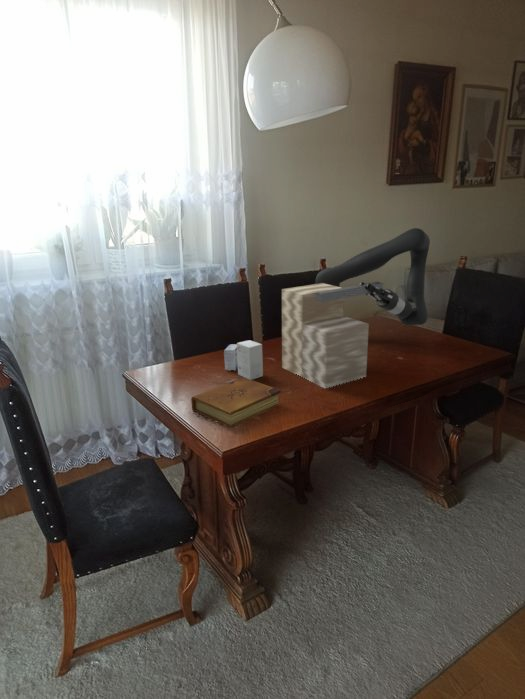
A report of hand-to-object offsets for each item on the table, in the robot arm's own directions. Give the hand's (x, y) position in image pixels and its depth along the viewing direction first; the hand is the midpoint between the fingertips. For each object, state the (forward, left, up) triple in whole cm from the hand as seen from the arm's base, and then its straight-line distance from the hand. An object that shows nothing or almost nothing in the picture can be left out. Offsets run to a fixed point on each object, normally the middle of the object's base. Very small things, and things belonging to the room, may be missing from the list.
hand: (363, 285), depth 187 cm
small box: (-21, -37, -34) cm, 55 cm away
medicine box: (-33, -38, -34) cm, 61 cm away
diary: (+1, -56, -35) cm, 66 cm away
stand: (-7, -12, -34) cm, 37 cm away
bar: (0, -6, -3) cm, 7 cm away
